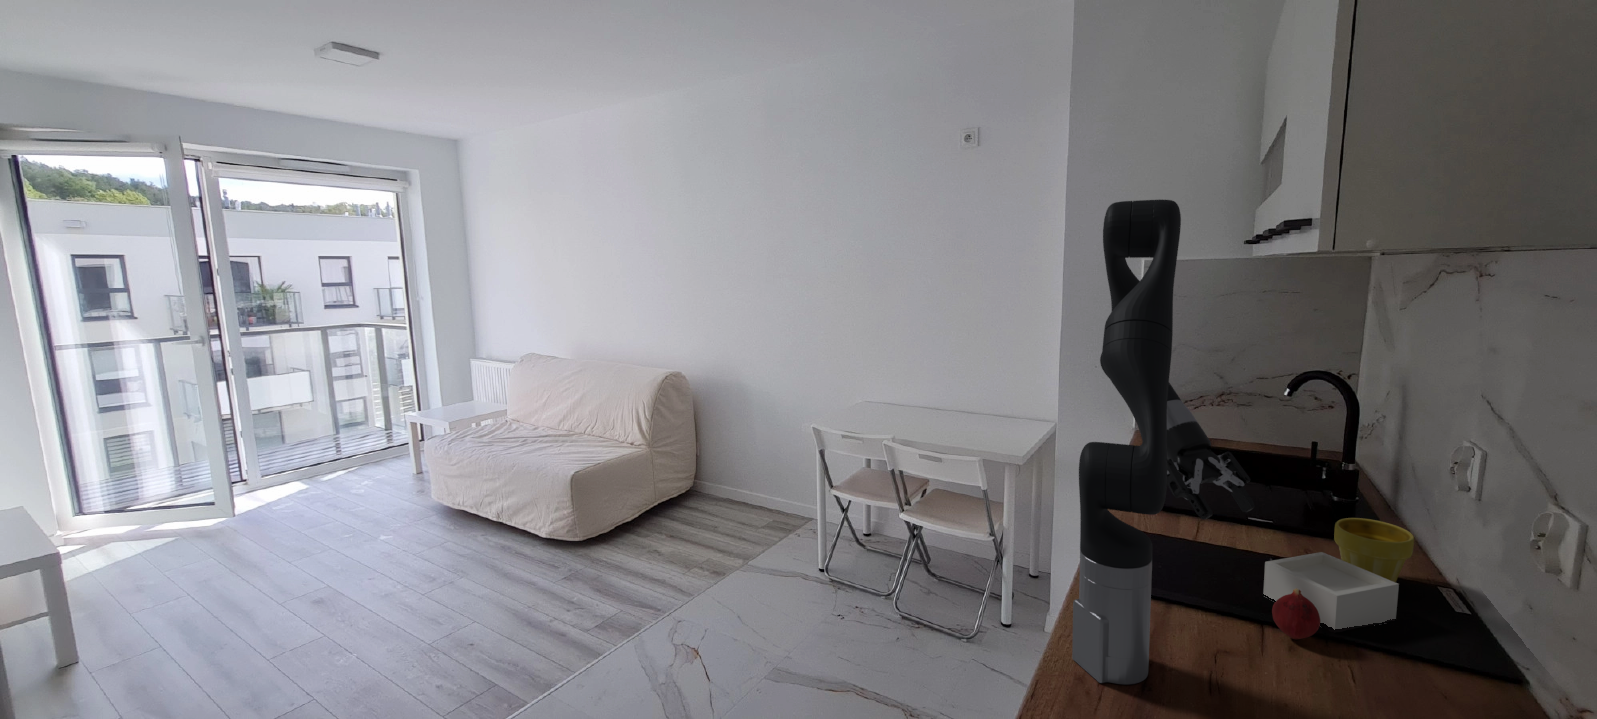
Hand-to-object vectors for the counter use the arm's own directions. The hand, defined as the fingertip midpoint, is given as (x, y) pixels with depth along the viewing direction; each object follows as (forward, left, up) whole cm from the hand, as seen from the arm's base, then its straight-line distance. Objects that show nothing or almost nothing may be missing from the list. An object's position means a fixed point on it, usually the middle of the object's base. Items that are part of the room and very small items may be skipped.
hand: (1229, 513), depth 108 cm
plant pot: (+28, -3, -16) cm, 32 cm away
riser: (+13, -7, -16) cm, 22 cm away
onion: (0, -12, -16) cm, 20 cm away
